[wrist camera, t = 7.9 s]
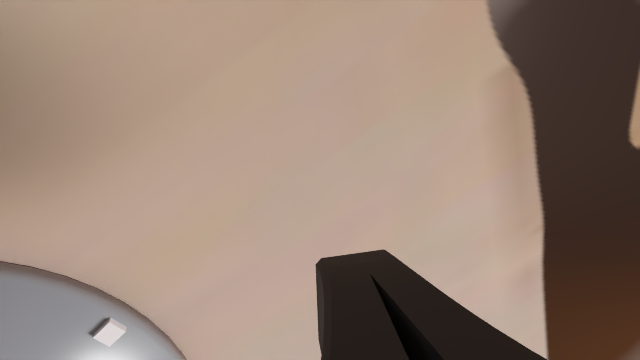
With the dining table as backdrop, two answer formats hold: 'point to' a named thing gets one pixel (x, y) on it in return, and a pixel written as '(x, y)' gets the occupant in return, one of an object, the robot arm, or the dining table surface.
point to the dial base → (72, 321)
